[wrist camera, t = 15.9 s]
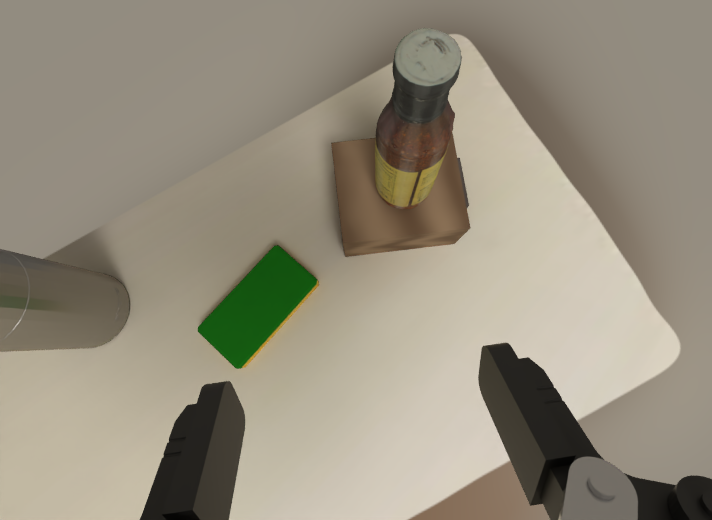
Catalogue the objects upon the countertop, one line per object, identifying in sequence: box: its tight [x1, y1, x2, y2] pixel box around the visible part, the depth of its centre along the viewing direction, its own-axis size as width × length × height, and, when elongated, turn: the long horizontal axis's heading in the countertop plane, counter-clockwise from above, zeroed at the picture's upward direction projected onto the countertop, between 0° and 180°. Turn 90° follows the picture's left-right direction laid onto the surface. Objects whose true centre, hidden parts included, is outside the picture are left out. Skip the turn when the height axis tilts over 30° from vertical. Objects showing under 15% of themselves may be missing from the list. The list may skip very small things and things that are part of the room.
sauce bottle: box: [375, 28, 462, 209], centre depth 31 cm, size 6×6×20 cm
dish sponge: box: [198, 245, 319, 369], centre depth 45 cm, size 7×14×2 cm, turn 139°
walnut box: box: [331, 134, 470, 257], centre depth 45 cm, size 15×12×7 cm
